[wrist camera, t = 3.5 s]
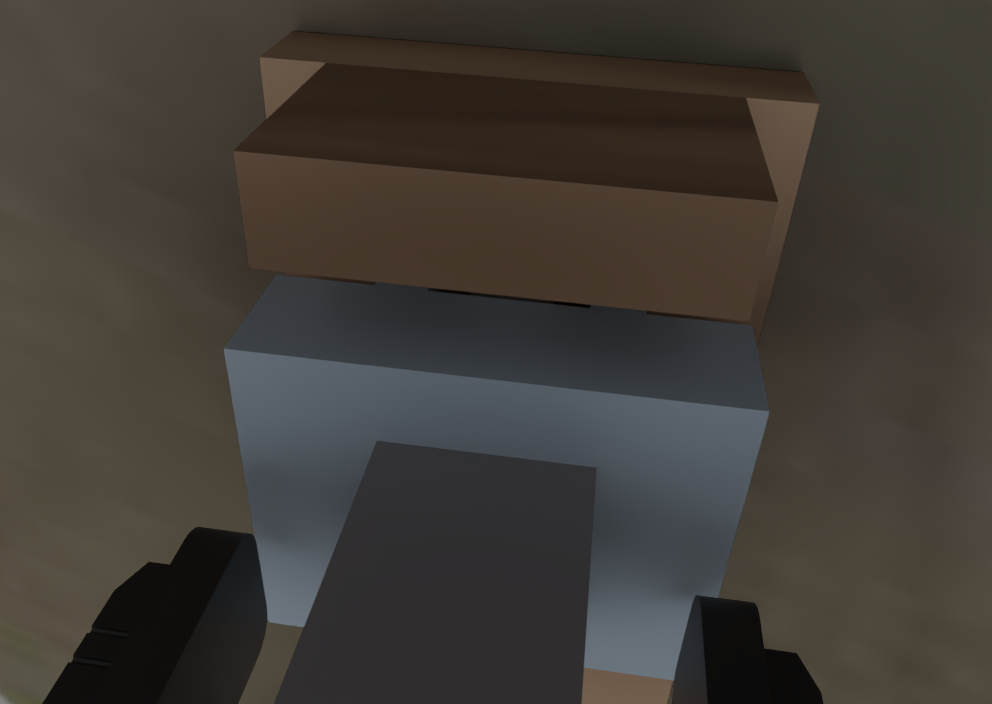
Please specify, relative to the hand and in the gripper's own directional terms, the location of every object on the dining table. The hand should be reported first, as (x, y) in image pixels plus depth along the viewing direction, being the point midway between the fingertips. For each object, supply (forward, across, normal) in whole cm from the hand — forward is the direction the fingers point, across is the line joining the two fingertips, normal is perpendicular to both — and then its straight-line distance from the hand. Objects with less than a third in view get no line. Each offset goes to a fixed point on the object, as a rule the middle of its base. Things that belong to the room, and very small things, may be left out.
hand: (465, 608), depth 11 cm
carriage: (+5, 0, 0) cm, 5 cm away
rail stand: (+6, 0, +4) cm, 7 cm away
